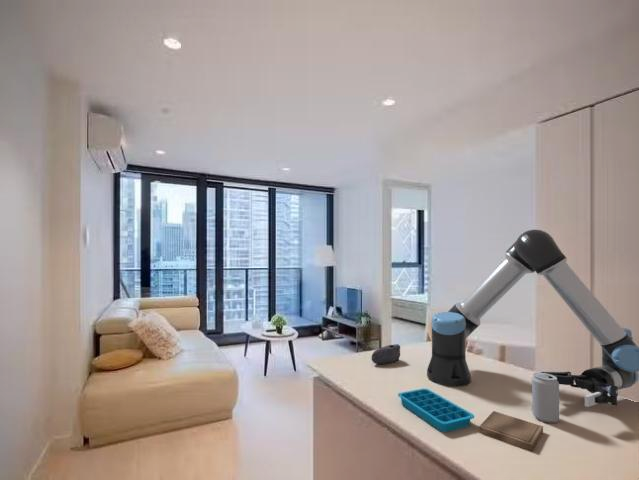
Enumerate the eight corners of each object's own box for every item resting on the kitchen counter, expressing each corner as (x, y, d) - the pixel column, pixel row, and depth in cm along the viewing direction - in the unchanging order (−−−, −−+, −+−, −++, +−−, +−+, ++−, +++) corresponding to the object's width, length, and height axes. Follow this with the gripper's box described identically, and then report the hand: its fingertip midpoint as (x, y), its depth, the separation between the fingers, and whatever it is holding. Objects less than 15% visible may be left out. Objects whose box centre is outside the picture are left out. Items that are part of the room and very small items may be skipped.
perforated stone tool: (375, 367, 137) (375, 350, 137) (367, 363, 142) (367, 346, 142) (404, 362, 144) (404, 345, 144) (396, 358, 148) (396, 342, 148)
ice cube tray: (425, 397, 110) (425, 387, 110) (476, 427, 92) (476, 416, 92) (396, 403, 106) (396, 393, 106) (443, 436, 87) (443, 424, 87)
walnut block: (479, 432, 89) (479, 425, 89) (493, 416, 97) (493, 410, 97) (532, 451, 80) (532, 444, 80) (543, 432, 89) (543, 425, 89)
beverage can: (563, 425, 92) (563, 380, 93) (537, 422, 94) (537, 378, 94) (552, 414, 99) (552, 372, 99) (528, 412, 100) (528, 370, 100)
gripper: (652, 409, 96) (611, 425, 87) (558, 378, 118) (518, 388, 109) (652, 382, 96) (611, 395, 87) (558, 356, 118) (518, 365, 109)
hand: (559, 391), depth 98 cm, fingers open, 13 cm apart
